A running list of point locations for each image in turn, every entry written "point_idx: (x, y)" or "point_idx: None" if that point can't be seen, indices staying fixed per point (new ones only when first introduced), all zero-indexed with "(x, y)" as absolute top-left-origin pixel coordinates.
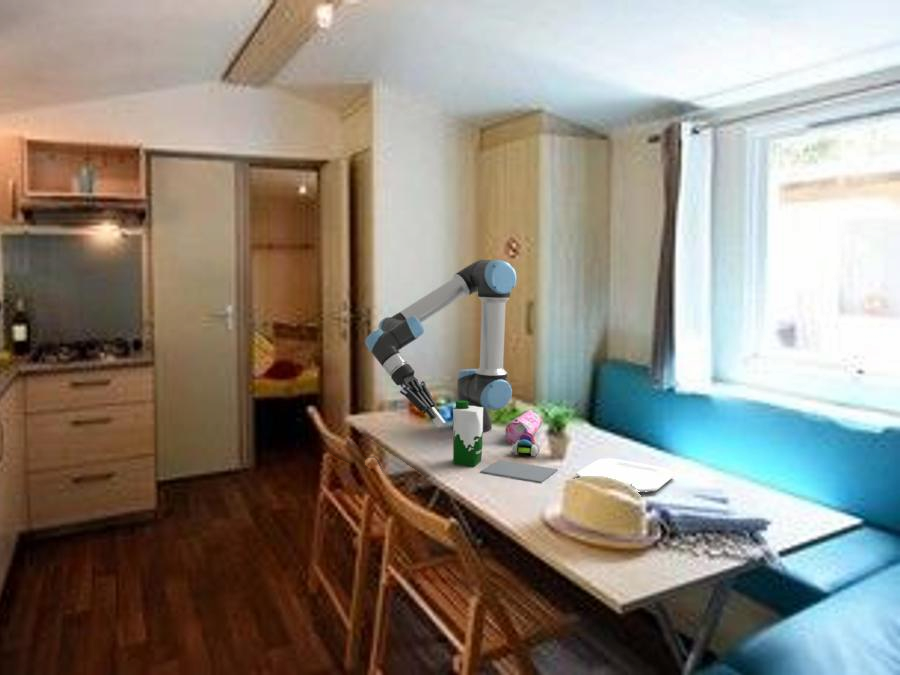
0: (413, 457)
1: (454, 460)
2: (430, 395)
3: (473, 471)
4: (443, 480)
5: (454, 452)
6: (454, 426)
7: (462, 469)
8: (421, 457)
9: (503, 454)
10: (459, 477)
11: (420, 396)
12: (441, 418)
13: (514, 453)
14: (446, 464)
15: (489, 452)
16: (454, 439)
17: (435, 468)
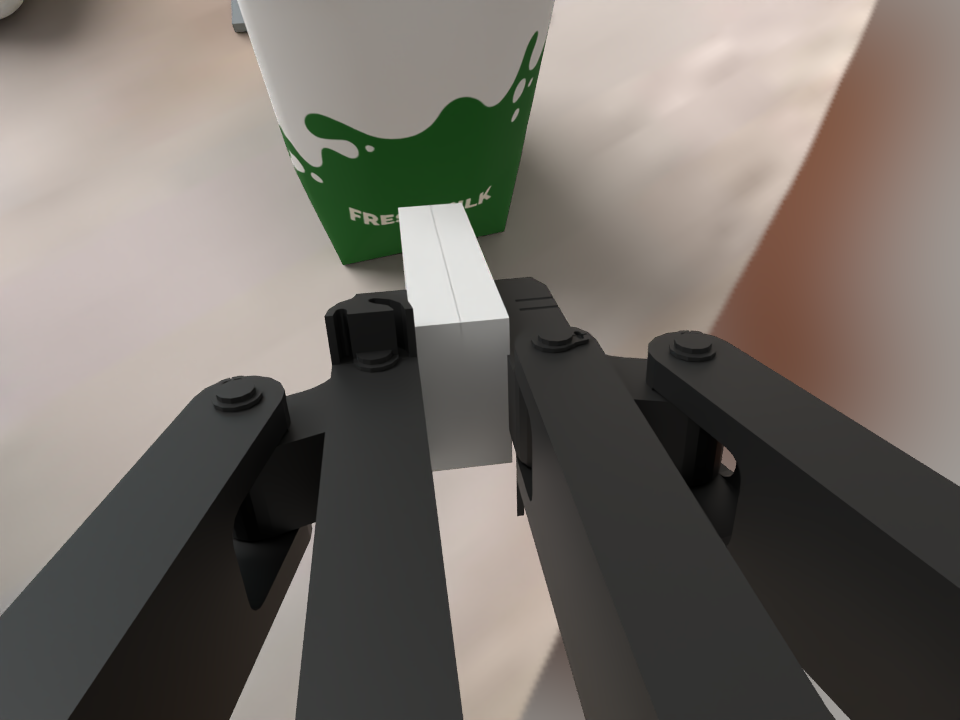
0: (549, 604)
1: (509, 204)
2: (93, 567)
3: (545, 59)
4: (816, 112)
5: (511, 175)
6: (532, 12)
7: (556, 130)
8: (504, 545)
9: (48, 78)
10: (702, 68)
11: (707, 553)
12: (435, 228)
13: (22, 1)
14: (532, 273)
15: (48, 180)
16: (517, 110)
17: (662, 282)
